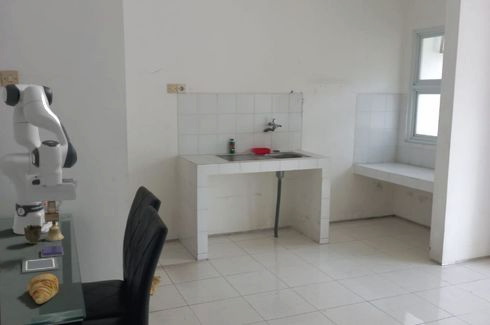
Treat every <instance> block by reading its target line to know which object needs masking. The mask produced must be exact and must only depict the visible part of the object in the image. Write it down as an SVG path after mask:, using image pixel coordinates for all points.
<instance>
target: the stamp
mask: <svg viewBox="0 0 490 325" xmlns="http://www.w3.org/2000/svg"><path fill="white" fill-rule="evenodd" d="M46 202H47V203H46V204H47V205H46V207H48V209H47V210H48V212H44V218H45V222H53V221H56V222H60V214H59V211H56V206H57V204H56V202H57V201H46Z"/></svg>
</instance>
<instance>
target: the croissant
mask: <svg viewBox="0 0 490 325" xmlns="http://www.w3.org/2000/svg"><path fill="white" fill-rule="evenodd" d="M26 288H27V290H26V291H28V293H29V296H31V298H32V300H33V301H35V303H36V304H38V305H41V304H44V303H46V302H48V301H49V300H51V299H52V298H54V296H56V295H57V294H58V293H59V280H58V278H57V276H56V275H54V274H52V273H49V272H45V273H42V274H39V275H36V276H35V277H33V278H32V279H30V281H29V282H28V284H27V285H26Z"/></svg>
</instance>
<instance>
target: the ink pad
mask: <svg viewBox="0 0 490 325" xmlns="http://www.w3.org/2000/svg"><path fill="white" fill-rule="evenodd" d="M60 256H65V253H64V248H63V246H62V245H57V246H55V245H53V246H42V248H40V258H41V257H42V258H53V257H60Z"/></svg>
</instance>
